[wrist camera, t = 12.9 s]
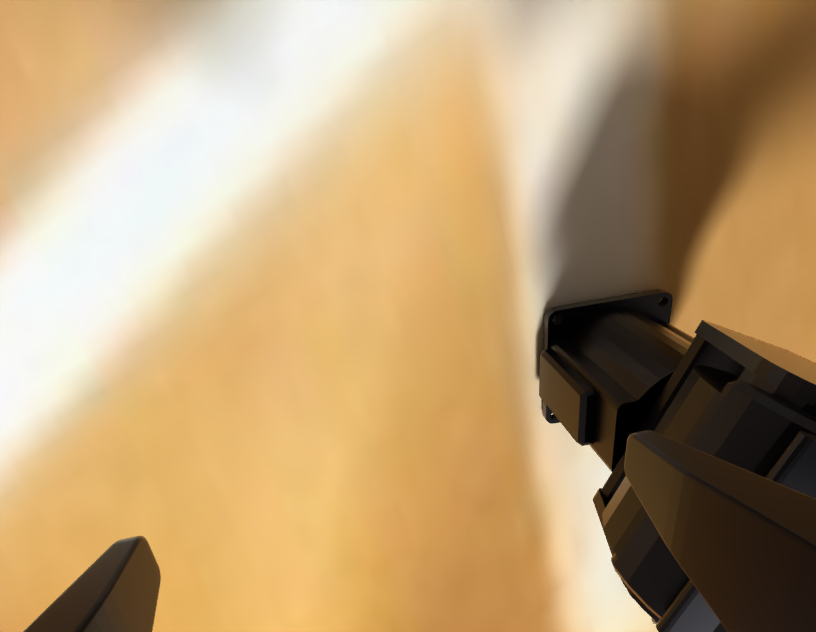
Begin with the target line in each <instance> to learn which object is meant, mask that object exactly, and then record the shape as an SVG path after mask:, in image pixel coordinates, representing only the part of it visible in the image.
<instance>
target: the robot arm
mask: <svg viewBox="0 0 816 632" xmlns="http://www.w3.org/2000/svg"><path fill="white" fill-rule="evenodd" d="M662 297H663V298H662ZM661 298H662V301H661V302H660V303H658V302H659V300H660V299H661ZM671 308H672V295H671V294H670V293H668V292H666V291H664V290H654V291H648V292H642V293H636V294H630V295H624V296H618V297H612V298H606V299H600V300H594V301H588V302H582V303H576V304H570V305H564V306H558V307H553V308H551V309H549V310H548V311H547V312H546V314H545V317H544V350H543V351H542V352H541V354H540V382H539V395H540V397H541V399H542V400H543V412H542V413H543V416H544V418H545V419H546V420H547V421H548V422H549V423H559V422H561V423H562V425H563V426H564V427H565V428H566V430H567V431H568V432H569V433H570V434H571V436H572V437H573V438H574V439H575V441H576V442H577V443H579V444H580V445H582V446H584V445H590V446H591V447H592V449H593V450H594V451H595V452H596V453H597V455H598V456H599V457H600V458H601V459H602V461H603V462H604V463H605V464H606V465H607V467H608V468H609V469H610V470H611V471H612V474H611V475H610V477H609V478H608V480H607V482H606V483H605V485H604V487H603V488H602V489H601V488H600V489H599V490H598V491H597V493H596V495H595V496H594V498H593V502H594V504H595V507H596V510H597V513H598V516H599V519H600V522H601V525H602V527H603V530H604V533H605V536H606V539H607V542H608V545H609V547H610V550H611V553H612V556H613V557H612V558H611V561H612V564H613V566H614V569H615V571H616V572H617V573H618V575H619V576H620V578H621V580H622V582H623V584H624V585H625V587H626V588H627V590H628V592H629V594H630V595H631V596H632V598H633V599H635V600H636V602H637V603H638V604H639V605H640V606H641V607H642V609H643V610H645V611H646V612H647V613H648V614H649V615H650V616H651V617H652V618H653V619H654V620H655V621H656V622H658V623H657V624H656V628H657V630H658V631H659V632H816V363H814V362H812V361H810V360H807V359H805V358H803V357H801V356H799V355H797V354H794V353H792V352H790V351H788V350H785V349H782V348H780V347H777V346H774V345H771V344H768V343H766V342H763V341H760V340H757V339H755V338H752V337H749V336H746V335H743V334H741V333H738V332H735V331H732V330H729V329H727V328H724V327H721V326H718V325H715V324H713V323H710V322H707V321H704V320H702V321H701V323H700V324H699V326H698V328H697V329H696V331H695V333H696V334H697V335H696V337H695V338H693V337H691V336H689V335H688V334H686V333H684V332H682V331H681V330H679V329H677V328H675V327H674V326H672V325H670V324H669V322H670V315H671ZM557 315H559V318H558V319H557V320H556V321H554V322H553V318H554V317H555V316H557ZM552 412H553V413H554V414H553V415H551V414H552ZM159 587H160V569H159V566H158V564H157V562H156V559H155V557H154V555H153V553H152V550H151V548H150V546H149V543H148V541H147V540H146V538H144V537H143V536H136V537H131V538H126V539H122V540H119V541H117V542H115V543H114V544H113V545H112V546H111V547H109V548H108V549H107V550H106V551H105V552H104V553H103V554H102V555H101V556H100V557H99V558H98V559H97V560H96V561H95V562H94V563H93V564H92V565H91V566H90V567H89V568H88V569H87V570H86V571H85V572H84V573H83V574H82V575H81V576H80V577H79V578H78V579H77V580H76V581H75V582H74V583H73V584H72V585H71V586H70V587H69V588H67V589H66V590H65V591H64V592H63V593H62V594H61V595H60V596H59V597H58V598H57V599H56V600H55V601H54V602H53V603H52V604H51V605H50V606H49V607H48V608H47V609H46V610H45V611H44V612H43V613H42V614H41V615H40V616H39V617H38V618H37V619H36V620H35V621H34V622H33V623H32V624H31V625H30V626H29V627H28V628H27V629H26V630H24V631H23V632H152V630H153V624H154V617H155V611H156V605H157V599H158V593H159Z"/></svg>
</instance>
